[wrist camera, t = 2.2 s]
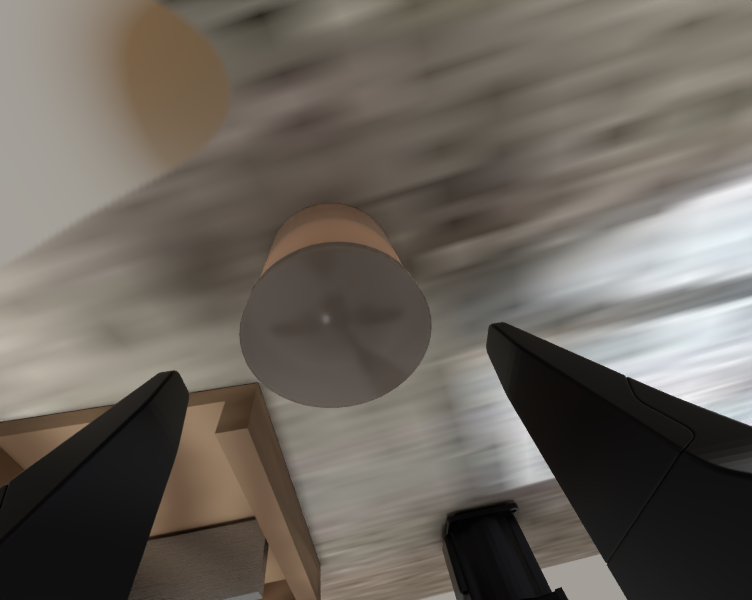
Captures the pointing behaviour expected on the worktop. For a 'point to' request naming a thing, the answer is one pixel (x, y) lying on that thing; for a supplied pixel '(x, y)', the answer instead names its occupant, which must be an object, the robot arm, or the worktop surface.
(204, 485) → the tray
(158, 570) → the pusher
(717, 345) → the worktop surface
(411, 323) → the jar
